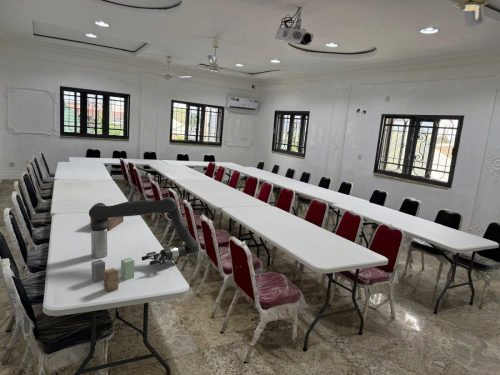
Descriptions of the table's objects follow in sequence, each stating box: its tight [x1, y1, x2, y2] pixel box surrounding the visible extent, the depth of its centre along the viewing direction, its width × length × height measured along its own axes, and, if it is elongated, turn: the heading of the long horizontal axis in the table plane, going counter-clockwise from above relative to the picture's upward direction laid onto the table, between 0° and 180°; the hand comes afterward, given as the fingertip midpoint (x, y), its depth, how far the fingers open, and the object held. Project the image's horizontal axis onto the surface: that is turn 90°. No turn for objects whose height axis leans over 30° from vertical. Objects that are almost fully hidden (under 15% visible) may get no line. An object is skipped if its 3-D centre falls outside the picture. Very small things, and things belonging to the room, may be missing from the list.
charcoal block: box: [91, 259, 106, 283], centre depth 183 cm, size 5×5×10 cm
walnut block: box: [103, 267, 119, 293], centre depth 174 cm, size 5×5×10 cm
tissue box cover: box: [89, 216, 124, 232], centre depth 272 cm, size 26×14×10 cm, turn 177°
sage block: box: [120, 257, 135, 281], centre depth 188 cm, size 5×5×10 cm
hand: (145, 261), depth 196 cm, fingers open, 8 cm apart
